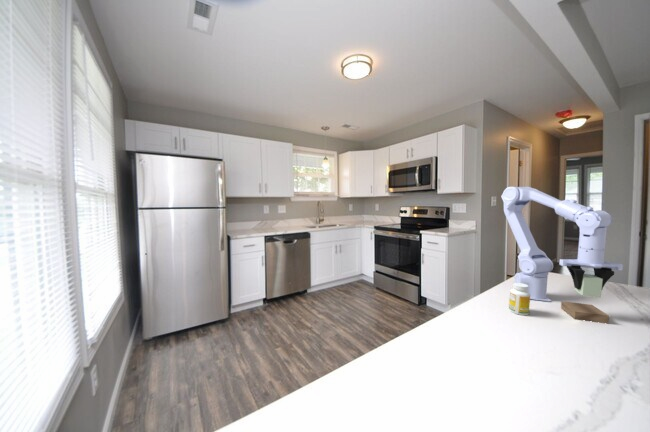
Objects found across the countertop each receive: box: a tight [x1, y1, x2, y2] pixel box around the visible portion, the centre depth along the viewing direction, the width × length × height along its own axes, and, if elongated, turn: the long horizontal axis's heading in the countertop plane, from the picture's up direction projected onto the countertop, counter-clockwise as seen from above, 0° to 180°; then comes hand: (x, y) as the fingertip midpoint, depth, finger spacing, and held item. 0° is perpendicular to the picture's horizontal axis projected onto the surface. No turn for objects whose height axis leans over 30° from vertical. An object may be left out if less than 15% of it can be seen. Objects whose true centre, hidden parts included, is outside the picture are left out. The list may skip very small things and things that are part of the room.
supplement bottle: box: [508, 282, 531, 316], centre depth 83 cm, size 5×5×10 cm
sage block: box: [574, 273, 603, 299], centre depth 79 cm, size 4×4×6 cm
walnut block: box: [560, 300, 610, 325], centre depth 80 cm, size 8×8×3 cm
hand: (587, 289), depth 79 cm, fingers closed on sage block, 4 cm apart
